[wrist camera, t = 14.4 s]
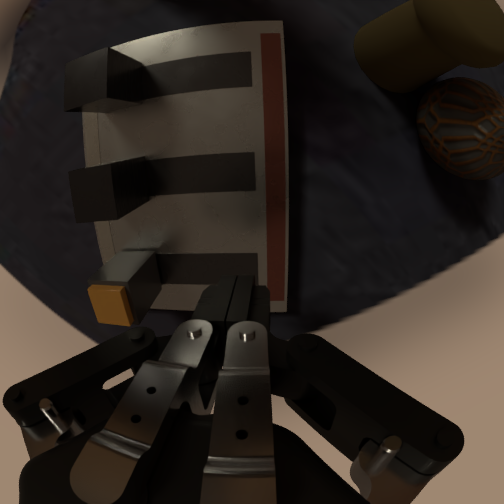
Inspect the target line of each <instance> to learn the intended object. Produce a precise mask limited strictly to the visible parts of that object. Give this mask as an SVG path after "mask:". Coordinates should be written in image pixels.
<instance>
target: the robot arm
mask: <svg viewBox="0 0 504 504" xmlns="http://www.w3.org/2000/svg"><path fill="white" fill-rule="evenodd" d="M222 366H223V369H222ZM130 368H131V369H132V372H133V374H134V376H133V377H131V378H129V379H127V380H125V381H123V382H122V383H120V384H118V385H116V386H114V387H112V388H110V389H107V390H105V389H102V388H103V384H104V383H105V382H106V381H107V380H109V379H111V378H113V377H115V376H116V375H118V374H120V373H122V372H124V371H126V370H128V369H130ZM271 394H273V395H276V396H280V397H284V399H285V402H286V403H287V405H288V406H290V407H291V408H292V409H293V410H294V411H295V412H296V413H297V414H298V415H299V416H300V417H301V418H302V419H303V420H305V421H306V422H307V423H308V424H309V425H310V426H311V427H312V428H313V429H314V430H316V431H317V432H318V433H319V434H320V435H322V437H324V438H325V439H326V440H327V441H328V442H329V443H330V444H332V445H333V446H334V447H335V448H336V449H338V450H339V451H340V452H341V453H342V454H344V455H345V456H346V457H347V458H348V459H350V460H351V461H352V462H353V463H352V466H351V468H350V476H351V478H352V480H353V482H354V483H355V484H356V485H357V486H358V488H359V490H360V494H361V495H360V494H359V493H358V492H357V491H356V490H355V489H353V488H352V487H351V486H350V485H349V484H348V483H347V482H346V481H344V480H343V479H342V478H341V477H340V476H339V475H338V474H337V473H336V472H335V471H333V470H332V469H331V468H330V467H329V466H328V465H327V464H326V463H325V462H324V461H323V460H322V459H321V458H320V457H319V456H318V455H317V454H316V453H315V452H314V451H313V450H312V449H311V448H310V447H309V446H308V445H307V444H306V443H305V442H304V441H303V440H302V439H301V438H299V437H298V436H297V435H296V434H295V433H293V432H291V431H290V430H288V429H286V428H284V427H282V426H279V425H276V424H273V423H272V404H271ZM214 401H215V406H214V414H210V413H211V410H212V407H213V404H214ZM3 405H4V407H5V408H6V410H7V411H8V412H9V413H10V414H11V416H12V417H13V418H14V419H15V420H16V422H17V424H18V425H19V426H20V427H21V430H22V434H23V438H24V441H25V444H26V447H27V451H28V454H29V456H30V461H28V462H27V463H26V465H25V466H24V468H23V469H22V472H21V474H20V479H19V504H410V503H411V502H412V501H413V500H414V499H415V498H416V496H417V495H418V494H419V493H420V492H421V490H422V489H423V488H424V487H425V485H426V484H427V483H428V482H429V481H430V480H431V479H432V478H433V477H435V476H436V475H437V474H438V473H439V472H441V471H442V470H443V469H444V468H445V467H446V466H447V465H448V464H449V463H451V462H452V461H453V460H454V459H455V458H456V457H457V456H458V455H459V454H460V452H461V451H462V449H463V446H464V435H463V433H462V431H461V429H460V428H459V427H458V426H457V425H456V424H454V423H453V422H451V421H449V420H448V419H446V418H445V417H443V416H441V415H440V414H438V413H436V412H435V411H433V410H431V409H430V408H428V407H427V406H425V405H423V404H422V403H420V402H419V401H417V400H416V399H414V398H412V397H411V396H409V395H408V394H406V393H405V392H403V391H401V390H400V389H398V388H397V387H395V386H394V385H392V384H391V383H389V382H388V381H386V380H384V379H383V378H381V377H380V376H378V375H377V374H375V373H374V372H372V371H371V370H369V369H368V368H366V367H365V366H363V365H362V364H360V363H359V362H357V361H356V360H354V359H353V358H351V357H350V356H348V355H347V354H345V353H344V352H342V351H341V350H339V349H338V348H336V347H335V346H333V345H332V344H331V343H329V342H327V341H326V340H325V339H323V338H322V337H320V336H318V335H314V334H300V335H297V336H294V337H293V338H291V339H290V340H289V341H285V340H281V339H278V338H276V337H275V336H273V335H272V334H271V333H270V291H269V289H268V288H267V287H266V285H255V275H221V277H220V279H219V282H218V285H210V286H208V287H207V288H206V289H205V290H203V292H202V294H201V297H200V299H199V301H198V304H197V306H196V308H195V310H194V312H193V315H192V317H191V319H190V320H189V321H186V322H184V323H182V324H180V325H179V326H178V327H177V329H176V330H175V332H174V334H173V335H169V336H162V337H156V336H155V333H154V331H153V330H152V329H150V328H147V327H136V328H132V329H130V330H128V331H126V332H124V333H122V334H120V335H118V336H116V337H114V338H111V339H109V340H107V341H105V342H103V343H101V344H99V345H97V346H95V347H93V348H91V349H89V350H87V351H85V352H83V353H81V354H79V355H76V356H74V357H72V358H70V359H68V360H66V361H64V362H62V363H60V364H57V365H55V366H53V367H51V368H49V369H47V370H45V371H43V372H41V373H38V374H36V375H34V376H32V377H30V378H28V379H26V380H23V381H21V382H19V383H17V384H15V385H13V386H11V387H10V388H9V389H8V390H7V391H6V392H5V394H4V397H3Z"/></svg>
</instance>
